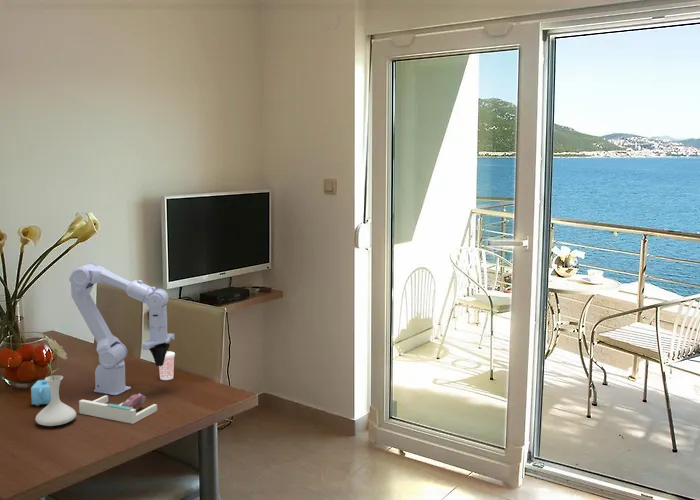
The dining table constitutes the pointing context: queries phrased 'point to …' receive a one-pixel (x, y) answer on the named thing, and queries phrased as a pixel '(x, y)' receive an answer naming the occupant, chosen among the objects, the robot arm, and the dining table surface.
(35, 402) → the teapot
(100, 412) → the comb rack
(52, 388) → the flower in vase
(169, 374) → the beverage cup
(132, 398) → the video game controller
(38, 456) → the dining table surface
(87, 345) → the dining table surface
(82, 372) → the dining table surface
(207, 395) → the dining table surface
